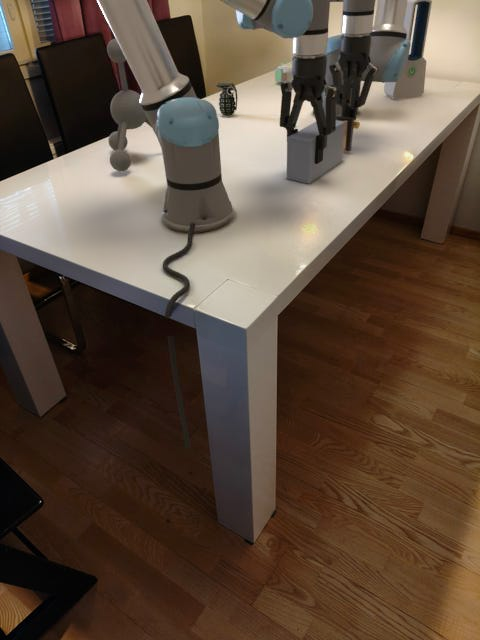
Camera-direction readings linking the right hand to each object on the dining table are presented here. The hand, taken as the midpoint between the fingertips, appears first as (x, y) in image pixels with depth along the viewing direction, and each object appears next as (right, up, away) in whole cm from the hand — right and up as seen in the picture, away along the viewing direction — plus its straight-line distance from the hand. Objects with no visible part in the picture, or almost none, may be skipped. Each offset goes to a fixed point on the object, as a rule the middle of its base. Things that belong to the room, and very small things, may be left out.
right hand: (347, 132), depth 134 cm
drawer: (-4, -7, -3) cm, 9 cm away
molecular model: (-57, -5, +5) cm, 58 cm away
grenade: (-34, +19, +35) cm, 52 cm away
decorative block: (-3, +51, +73) cm, 89 cm away
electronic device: (+30, +30, +44) cm, 61 cm away
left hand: (-13, -12, -14) cm, 23 cm away
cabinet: (-10, -13, -8) cm, 19 cm away
